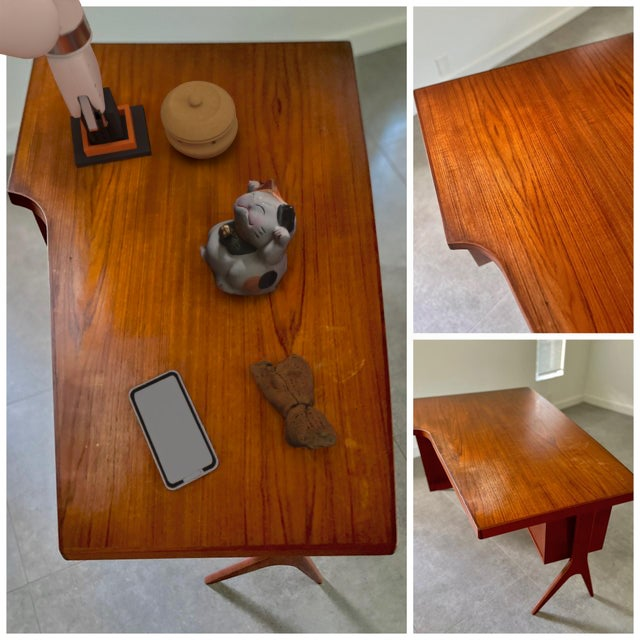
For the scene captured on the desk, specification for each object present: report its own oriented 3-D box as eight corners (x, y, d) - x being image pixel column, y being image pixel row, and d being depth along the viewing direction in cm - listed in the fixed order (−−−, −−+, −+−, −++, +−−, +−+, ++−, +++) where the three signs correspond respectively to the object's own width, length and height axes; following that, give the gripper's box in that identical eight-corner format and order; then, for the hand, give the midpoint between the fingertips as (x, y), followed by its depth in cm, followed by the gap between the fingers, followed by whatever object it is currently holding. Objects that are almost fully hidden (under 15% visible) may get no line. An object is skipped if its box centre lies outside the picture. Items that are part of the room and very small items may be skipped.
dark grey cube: (92, 143, 86) (79, 117, 80) (88, 118, 87) (75, 91, 82) (124, 138, 86) (113, 112, 81) (120, 113, 88) (109, 86, 82)
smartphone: (176, 367, 74) (221, 465, 69) (177, 369, 75) (221, 466, 70) (125, 391, 73) (167, 493, 68) (127, 393, 73) (169, 493, 69)
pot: (237, 171, 87) (230, 128, 78) (165, 168, 87) (149, 125, 78) (242, 114, 92) (236, 68, 82) (174, 111, 91) (160, 64, 82)
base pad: (77, 168, 86) (71, 158, 84) (72, 120, 90) (66, 109, 88) (151, 155, 88) (148, 144, 86) (143, 108, 91) (139, 97, 89)
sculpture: (291, 453, 60) (263, 333, 66) (269, 471, 69) (246, 364, 75) (355, 440, 64) (323, 327, 69) (326, 459, 72) (300, 357, 78)
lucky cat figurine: (193, 234, 83) (211, 156, 73) (265, 238, 88) (290, 166, 79) (213, 304, 74) (236, 225, 65) (292, 304, 80) (323, 231, 70)
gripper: (25, -13, 72) (76, 90, 89) (33, 81, 66) (86, 173, 83) (82, -21, 73) (122, 83, 90) (95, 72, 67) (135, 164, 84)
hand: (104, 125), depth 86 cm, fingers closed on dark grey cube, 5 cm apart
